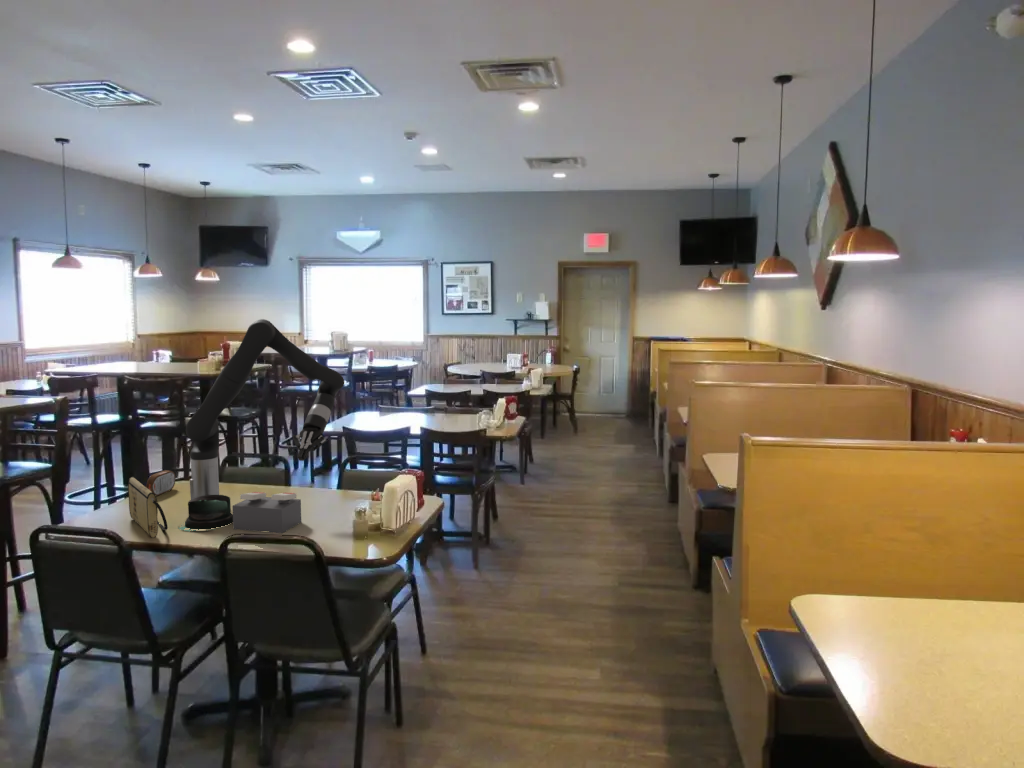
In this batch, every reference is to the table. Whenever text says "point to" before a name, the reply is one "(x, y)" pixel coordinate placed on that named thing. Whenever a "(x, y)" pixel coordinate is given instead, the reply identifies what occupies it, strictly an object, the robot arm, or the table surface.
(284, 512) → the switch box
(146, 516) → the clutch purse
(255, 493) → the left rocker
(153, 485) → the tin
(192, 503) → the dark green hat
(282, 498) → the right rocker
